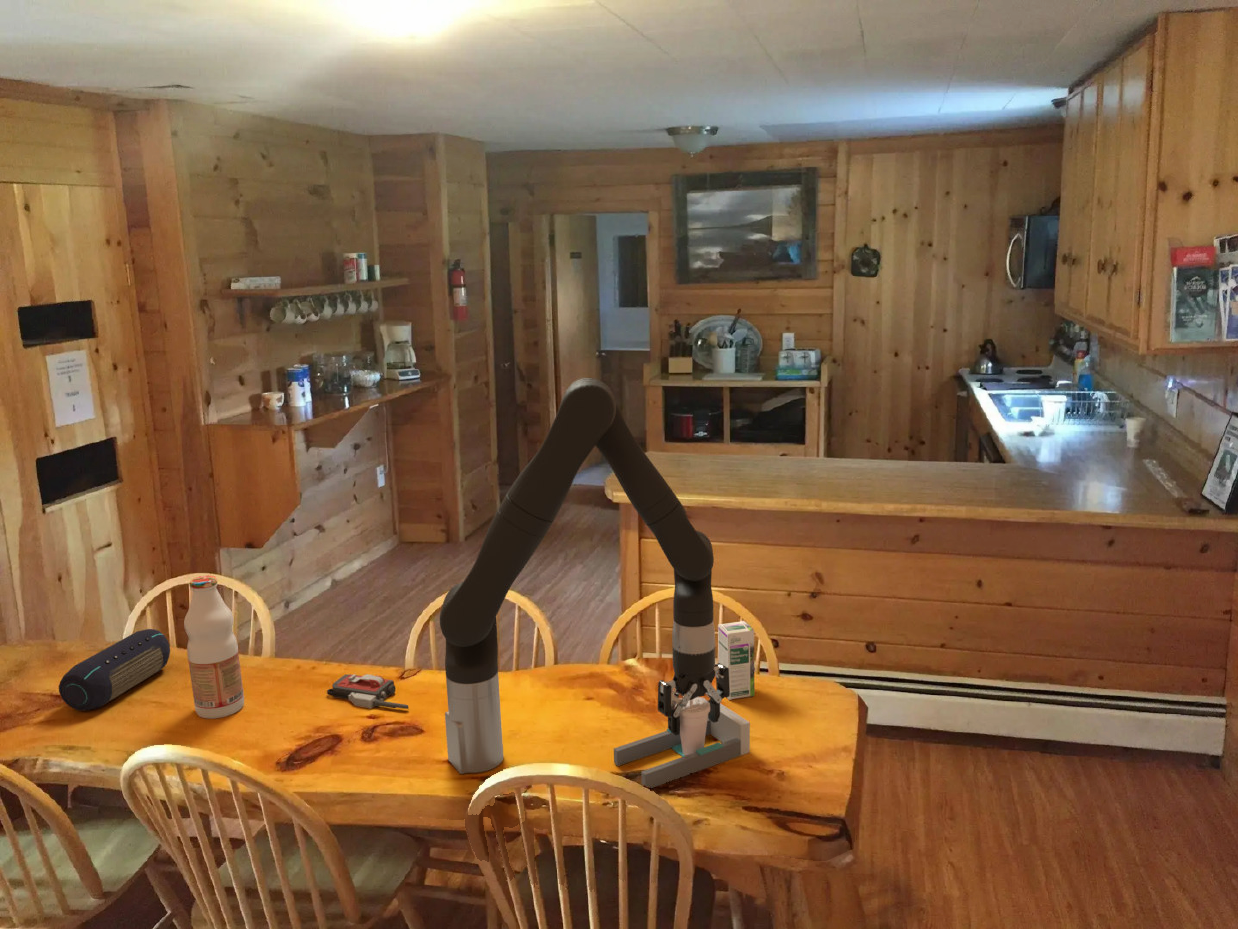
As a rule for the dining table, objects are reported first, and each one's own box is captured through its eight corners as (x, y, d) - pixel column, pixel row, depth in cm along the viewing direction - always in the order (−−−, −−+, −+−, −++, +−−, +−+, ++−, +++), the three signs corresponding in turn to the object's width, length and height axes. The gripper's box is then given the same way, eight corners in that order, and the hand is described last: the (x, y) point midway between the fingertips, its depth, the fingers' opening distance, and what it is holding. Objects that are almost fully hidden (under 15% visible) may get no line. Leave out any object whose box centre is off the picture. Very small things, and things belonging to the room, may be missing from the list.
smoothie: (669, 757, 181) (668, 686, 178) (684, 740, 187) (683, 671, 183) (702, 765, 178) (701, 693, 175) (716, 748, 184) (715, 678, 180)
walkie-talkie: (320, 703, 207) (405, 716, 200) (318, 683, 206) (404, 696, 199) (345, 684, 215) (427, 696, 208) (343, 665, 214) (426, 677, 207)
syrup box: (728, 700, 202) (728, 633, 198) (717, 688, 207) (717, 622, 204) (754, 696, 203) (755, 630, 200) (743, 684, 209) (743, 619, 205)
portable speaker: (97, 720, 202) (89, 674, 199) (56, 714, 204) (48, 669, 202) (181, 666, 225) (175, 625, 223) (144, 662, 228) (138, 621, 225)
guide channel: (645, 790, 171) (644, 759, 170) (613, 763, 180) (612, 733, 179) (749, 752, 182) (750, 722, 181) (715, 728, 191) (715, 699, 190)
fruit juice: (194, 723, 199) (176, 590, 192) (196, 703, 207) (178, 575, 201) (245, 714, 202) (228, 583, 195) (244, 694, 210) (229, 568, 204)
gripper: (672, 660, 171) (673, 747, 175) (738, 641, 178) (738, 724, 182) (648, 645, 177) (650, 729, 181) (713, 627, 184) (714, 708, 188)
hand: (694, 726), depth 181 cm, fingers open, 8 cm apart
